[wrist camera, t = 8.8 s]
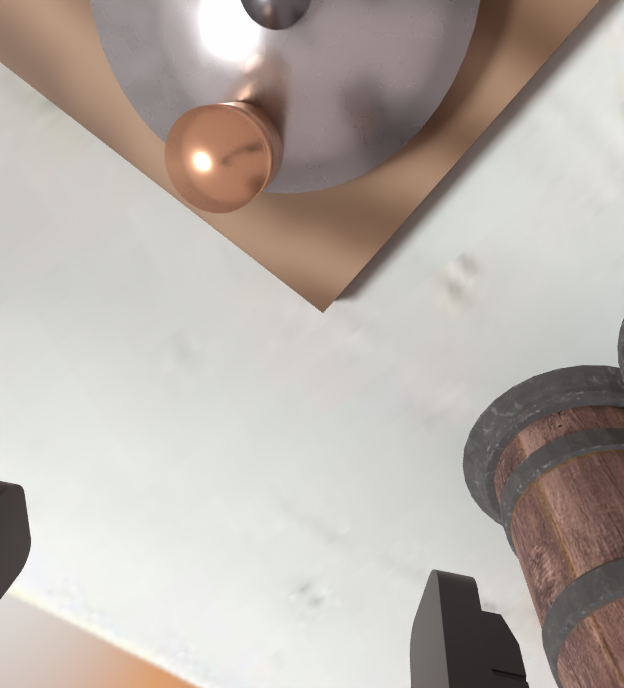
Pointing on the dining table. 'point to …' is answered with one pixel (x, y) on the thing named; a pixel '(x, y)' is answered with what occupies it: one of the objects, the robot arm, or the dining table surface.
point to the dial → (281, 85)
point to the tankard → (562, 509)
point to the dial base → (314, 206)
